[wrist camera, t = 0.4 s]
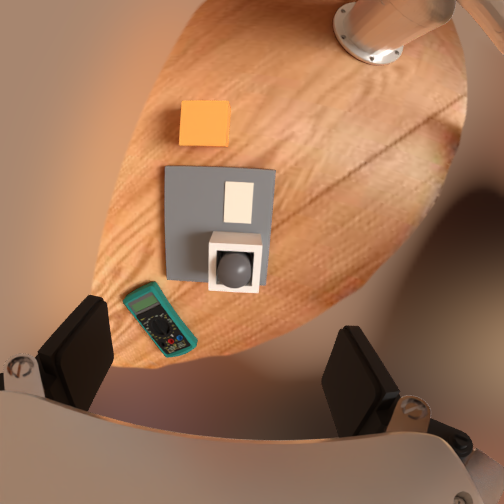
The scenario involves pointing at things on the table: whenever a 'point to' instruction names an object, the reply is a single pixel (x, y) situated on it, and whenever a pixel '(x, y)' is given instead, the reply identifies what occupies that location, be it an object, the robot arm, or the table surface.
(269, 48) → the table surface
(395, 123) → the table surface
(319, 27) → the table surface
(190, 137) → the orange foam cube
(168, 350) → the digital multimeter
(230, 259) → the breaker button
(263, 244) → the board
